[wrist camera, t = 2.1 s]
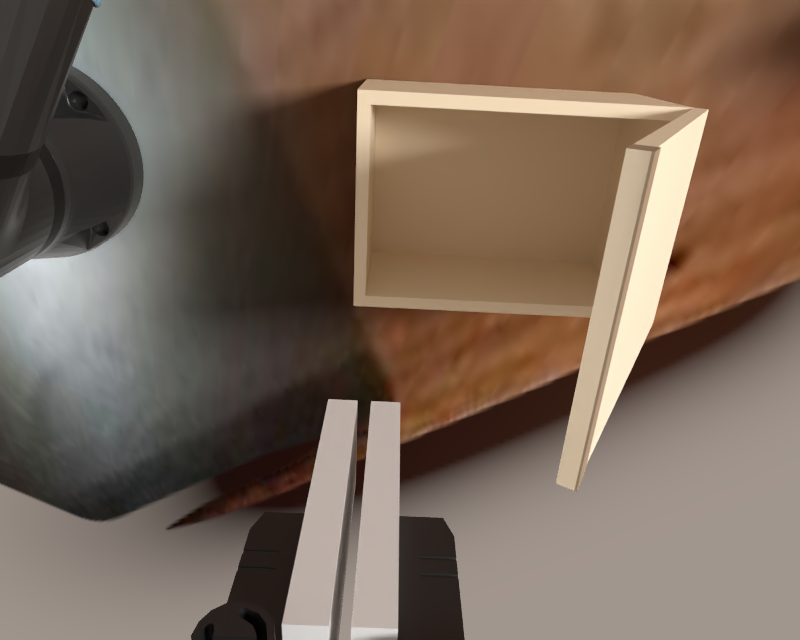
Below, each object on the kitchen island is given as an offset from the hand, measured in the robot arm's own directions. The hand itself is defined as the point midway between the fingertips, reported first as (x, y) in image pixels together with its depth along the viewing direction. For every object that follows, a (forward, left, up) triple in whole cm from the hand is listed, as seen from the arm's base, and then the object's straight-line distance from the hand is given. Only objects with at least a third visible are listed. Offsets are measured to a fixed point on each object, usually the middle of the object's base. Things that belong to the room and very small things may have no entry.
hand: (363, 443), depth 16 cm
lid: (+13, 0, -16) cm, 20 cm away
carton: (+8, 0, -34) cm, 35 cm away
